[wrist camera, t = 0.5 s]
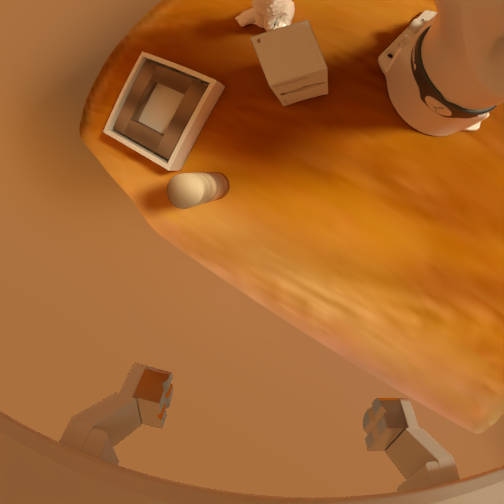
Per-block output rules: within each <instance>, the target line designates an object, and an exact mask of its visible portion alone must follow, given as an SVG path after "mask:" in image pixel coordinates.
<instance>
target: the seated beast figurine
mask: <svg viewBox="0 0 504 504" xmlns="http://www.w3.org/2000/svg"><path fill="white" fill-rule="evenodd" d="M251 5H252V6H253V7H252V8H250V9H248V10H245V11H243V13H241V14H240V15H238V16H237V17H235V19H236V21H237V22H238V23H239V24H240V26H241V27H243V26H245V25H247V24H251V23H252V24H255V25H257V26H258V27H260V28H264V29H265V30H266V32H268V31H271V30H274V29H276V28H280V27H284V26H287V25H290V24H291V21H292V18H293V17H294V11H295V9H294V7H295V6H294V2H292V0H253V1H252V3H251Z"/></svg>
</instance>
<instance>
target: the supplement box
mask: <svg viewBox="0 0 504 504" xmlns="http://www.w3.org/2000/svg"><path fill="white" fill-rule="evenodd" d="M250 39H251V41H252V44H253V46H254V49H255V52H256V54H257V57H258V59H259V62H260V64H261V67H262V69H263V72H264V74H265V77H266V79H267V82H268V84H269V86H270V88H271V89H272V91H273V92H274V94H275V95H276V96H277V98H278V99H279V101H280V102H281V104H282V105H283V106H287V105H290V104H293V103H296V102H299V101H302V100H306V99H309V98H313V97H317V96H321V95H326V94H328V68H327V65H326V63H325V60H324V58H323V55H322V52H321V50H320V47H319V45H318V42H317V40H316V37H315V35H314V32H313V30H312V28H311V25H310V23H309V21H308V20H305V21H301V22H297V23H294V24H290V25H287V26H284V27H280V28H276V29H274V30H271V31H268V32H264V33H261V34H258V35H256V36H252V37H251V38H250Z"/></svg>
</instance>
